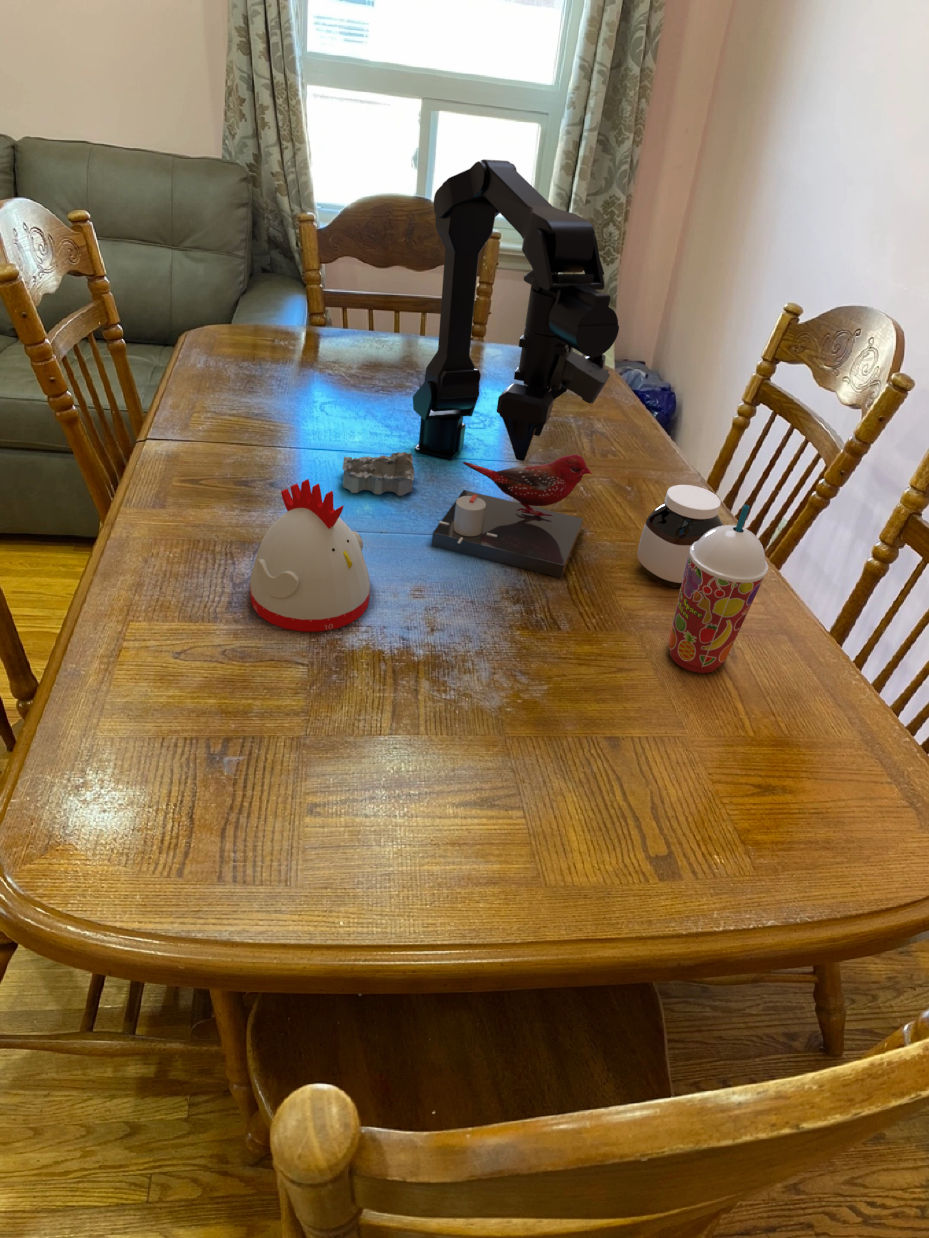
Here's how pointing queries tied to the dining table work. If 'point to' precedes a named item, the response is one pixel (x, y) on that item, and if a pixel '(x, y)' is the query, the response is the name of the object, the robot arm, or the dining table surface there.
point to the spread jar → (676, 532)
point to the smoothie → (716, 595)
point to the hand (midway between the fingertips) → (528, 447)
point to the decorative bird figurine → (538, 481)
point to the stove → (515, 536)
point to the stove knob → (469, 515)
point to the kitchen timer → (310, 566)
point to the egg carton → (379, 473)
